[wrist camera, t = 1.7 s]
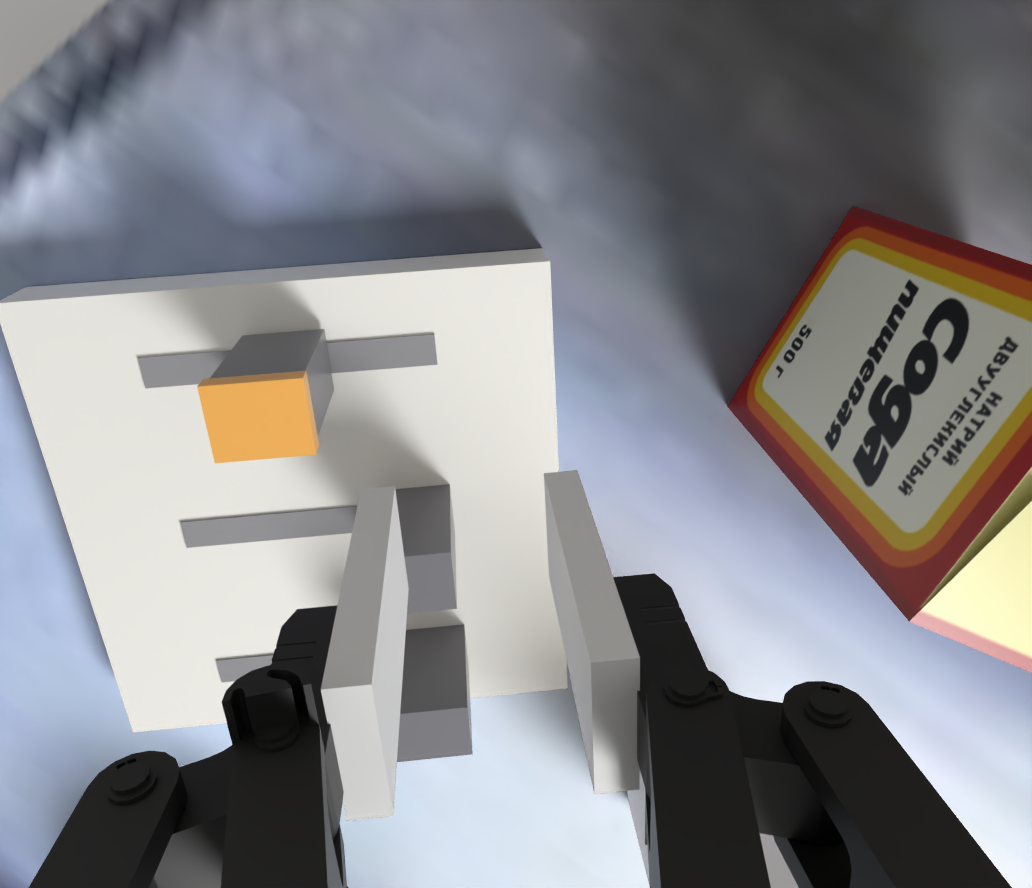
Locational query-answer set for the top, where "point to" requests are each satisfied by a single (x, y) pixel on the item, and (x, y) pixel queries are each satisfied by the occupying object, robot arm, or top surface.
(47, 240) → the top surface
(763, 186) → the top surface
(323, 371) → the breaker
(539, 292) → the white slider panel
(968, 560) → the baking soda box
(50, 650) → the top surface
